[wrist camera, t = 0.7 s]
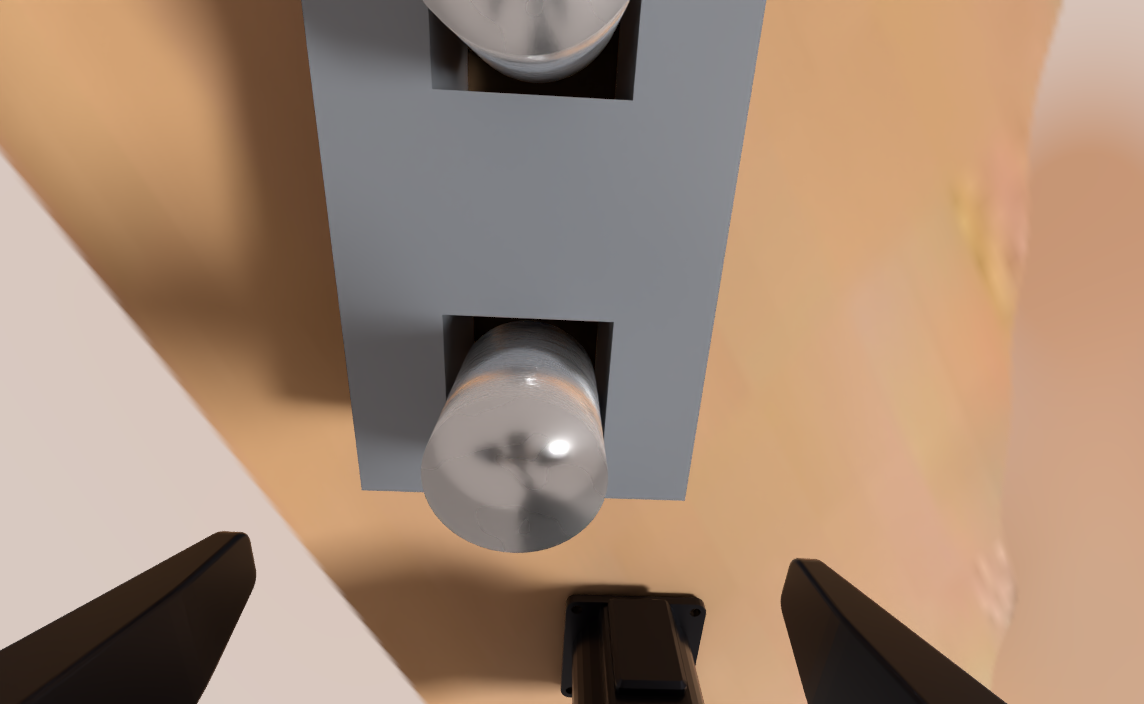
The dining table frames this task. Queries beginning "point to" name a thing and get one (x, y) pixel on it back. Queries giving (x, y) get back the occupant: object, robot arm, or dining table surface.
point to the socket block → (530, 219)
